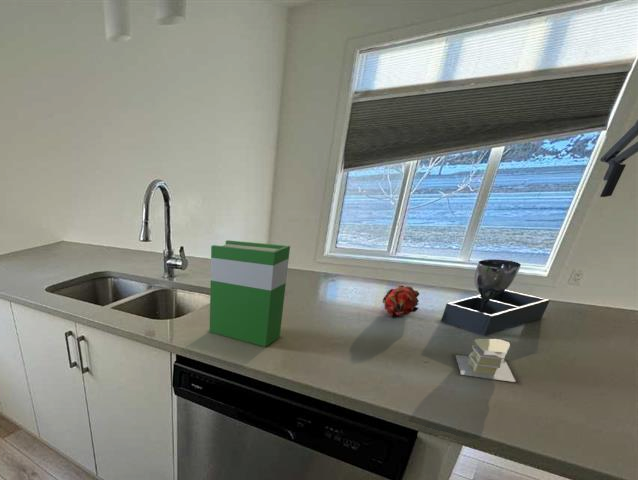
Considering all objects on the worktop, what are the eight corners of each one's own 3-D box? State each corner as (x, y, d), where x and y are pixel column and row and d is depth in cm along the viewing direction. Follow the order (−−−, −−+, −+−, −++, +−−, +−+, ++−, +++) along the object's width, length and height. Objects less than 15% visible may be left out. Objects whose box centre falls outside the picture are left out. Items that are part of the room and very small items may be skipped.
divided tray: (541, 318, 106) (550, 299, 103) (484, 335, 100) (492, 316, 98) (495, 306, 115) (502, 288, 112) (440, 321, 109) (446, 303, 107)
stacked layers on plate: (515, 382, 82) (527, 358, 79) (460, 374, 86) (469, 351, 83) (505, 361, 89) (515, 338, 86) (455, 355, 93) (463, 333, 90)
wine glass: (492, 316, 107) (514, 259, 100) (501, 328, 101) (525, 268, 94) (455, 314, 110) (474, 259, 103) (462, 325, 104) (483, 267, 97)
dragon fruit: (401, 311, 121) (395, 331, 114) (378, 293, 122) (371, 312, 115) (428, 292, 114) (423, 312, 107) (403, 273, 115) (397, 291, 108)
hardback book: (209, 331, 116) (211, 245, 104) (224, 323, 120) (227, 240, 108) (265, 346, 105) (274, 252, 93) (279, 337, 109) (290, 245, 97)
